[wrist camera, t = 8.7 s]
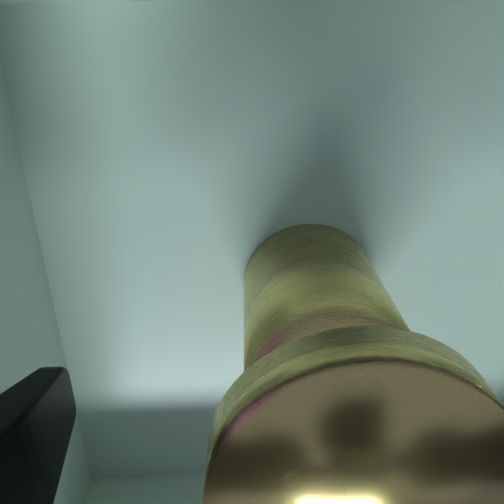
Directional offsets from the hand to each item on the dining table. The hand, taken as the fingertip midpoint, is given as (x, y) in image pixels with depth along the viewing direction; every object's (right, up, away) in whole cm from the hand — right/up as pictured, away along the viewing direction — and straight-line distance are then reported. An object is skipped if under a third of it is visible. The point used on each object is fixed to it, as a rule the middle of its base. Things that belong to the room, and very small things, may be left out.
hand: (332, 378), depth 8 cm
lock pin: (0, +1, +3) cm, 3 cm away
